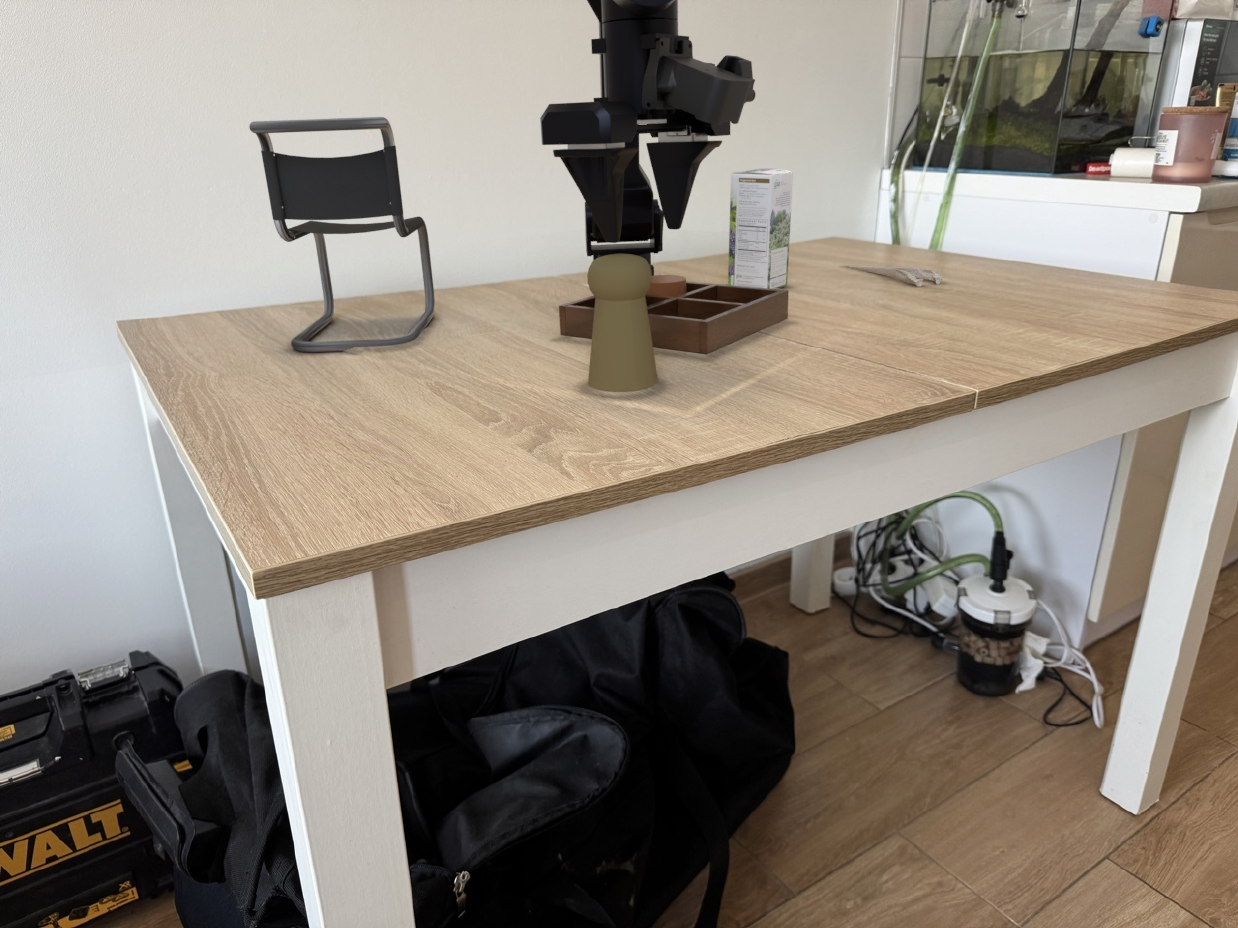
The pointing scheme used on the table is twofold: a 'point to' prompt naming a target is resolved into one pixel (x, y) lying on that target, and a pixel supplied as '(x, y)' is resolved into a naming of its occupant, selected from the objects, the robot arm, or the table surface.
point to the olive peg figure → (621, 325)
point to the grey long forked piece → (903, 273)
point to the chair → (339, 208)
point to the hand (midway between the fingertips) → (644, 235)
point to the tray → (693, 316)
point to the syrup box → (760, 228)
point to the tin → (667, 285)
